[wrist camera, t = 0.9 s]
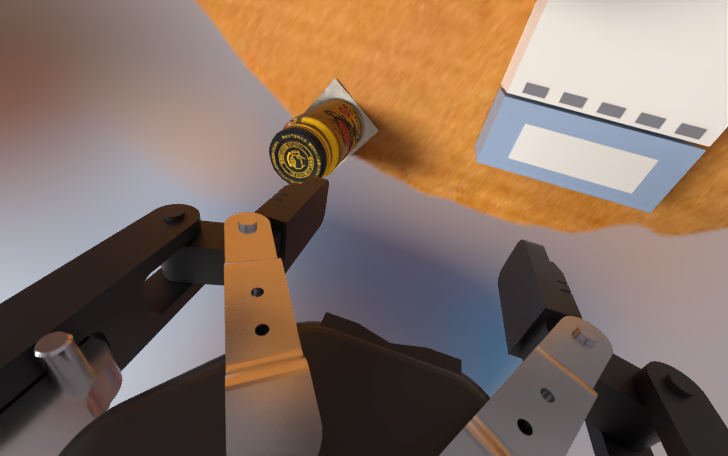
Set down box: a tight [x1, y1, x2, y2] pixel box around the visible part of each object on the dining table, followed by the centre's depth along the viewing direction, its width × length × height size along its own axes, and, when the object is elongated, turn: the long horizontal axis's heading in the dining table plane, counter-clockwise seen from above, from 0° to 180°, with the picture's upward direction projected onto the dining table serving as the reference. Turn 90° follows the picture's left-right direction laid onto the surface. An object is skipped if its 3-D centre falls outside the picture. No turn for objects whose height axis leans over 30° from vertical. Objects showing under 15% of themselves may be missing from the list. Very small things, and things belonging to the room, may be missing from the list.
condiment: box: [269, 78, 379, 184], centre depth 32 cm, size 7×8×12 cm
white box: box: [501, 0, 728, 147], centre depth 23 cm, size 12×16×5 cm
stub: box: [475, 88, 706, 213], centre depth 29 cm, size 6×16×5 cm, turn 78°
